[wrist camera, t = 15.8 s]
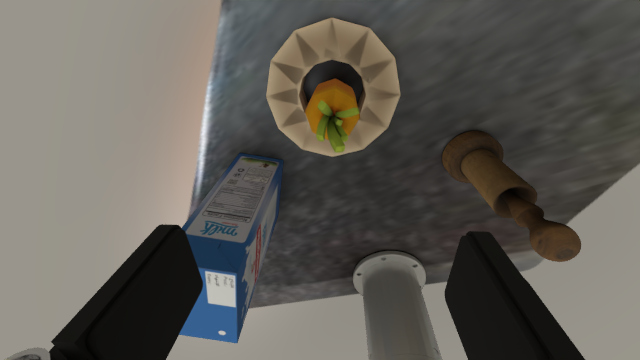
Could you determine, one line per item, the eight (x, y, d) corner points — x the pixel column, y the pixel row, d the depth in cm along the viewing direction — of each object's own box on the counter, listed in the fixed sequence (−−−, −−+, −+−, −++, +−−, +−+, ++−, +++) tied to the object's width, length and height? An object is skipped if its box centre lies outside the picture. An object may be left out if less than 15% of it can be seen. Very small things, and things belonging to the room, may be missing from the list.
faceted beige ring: (400, 127, 34) (407, 138, 31) (297, 153, 37) (292, 166, 34) (380, 1, 28) (386, -2, 24) (257, 44, 31) (246, 46, 27)
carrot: (314, 65, 31) (299, 96, 18) (357, 69, 31) (371, 103, 18) (312, 107, 34) (296, 161, 21) (351, 111, 34) (360, 167, 21)
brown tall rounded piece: (451, 182, 38) (528, 292, 22) (434, 145, 35) (508, 242, 20) (500, 161, 36) (623, 266, 20) (486, 120, 33) (615, 206, 18)
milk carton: (239, 152, 38) (155, 261, 20) (283, 159, 38) (236, 273, 21) (239, 208, 43) (172, 334, 25) (278, 214, 43) (237, 344, 26)
